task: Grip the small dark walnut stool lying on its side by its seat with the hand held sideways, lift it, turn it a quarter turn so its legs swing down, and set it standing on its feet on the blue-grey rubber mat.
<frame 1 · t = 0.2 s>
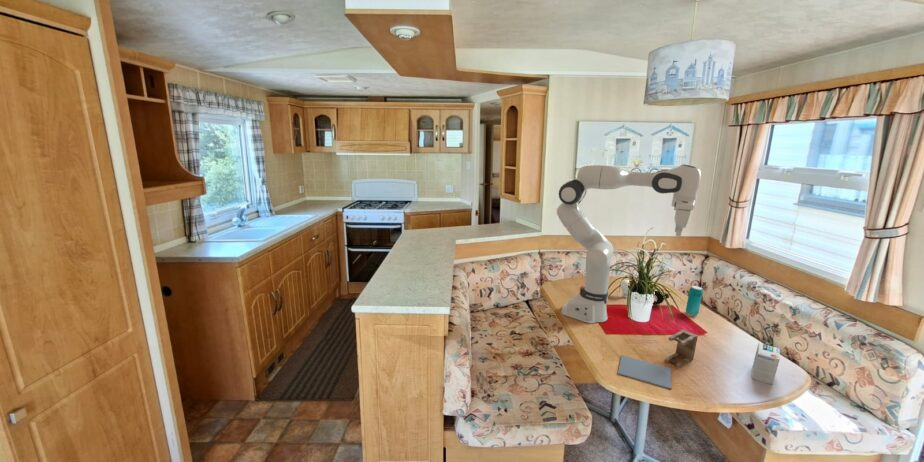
hand: (677, 234, 165), 48 cm above the table, tool pointing down, fingers open, 8 cm apart
mat: (644, 371, 145), on the table
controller: (655, 304, 207), on the table
light bulb box: (762, 375, 145), on the table
beverage can: (691, 314, 196), on the table
lightbulb: (624, 298, 214), on the table
stool: (686, 345, 155), point 5 cm above the table
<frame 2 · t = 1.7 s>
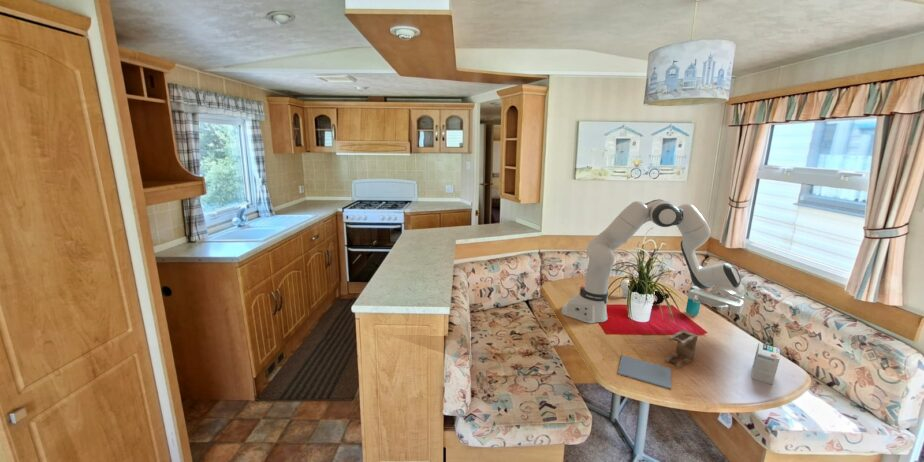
hand: (706, 304, 158), 21 cm above the table, tool horizontal, fingers open, 8 cm apart
nothing on the table moved.
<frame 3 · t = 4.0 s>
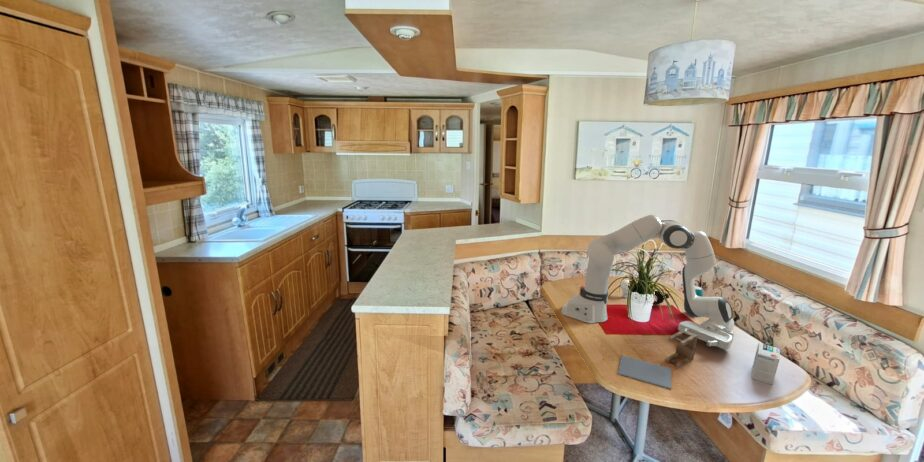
hand: (696, 339, 160), 5 cm above the table, tool horizontal, fingers open, 8 cm apart
nothing on the table moved.
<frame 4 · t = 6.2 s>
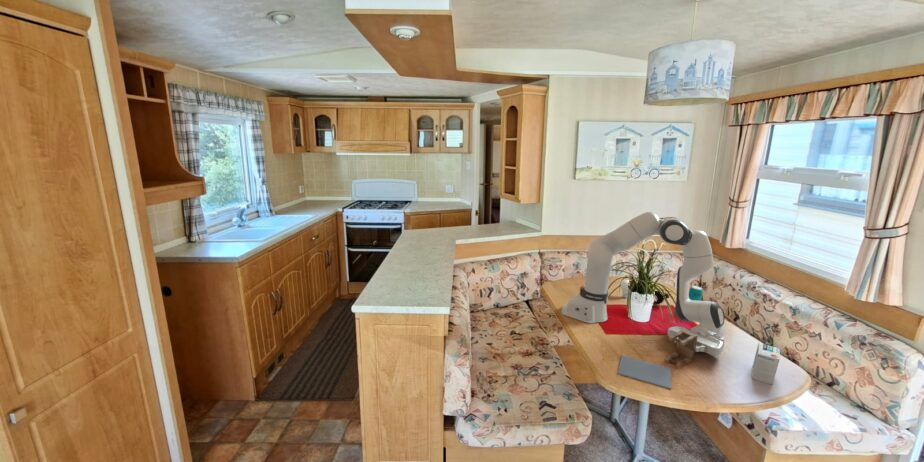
hand: (685, 345, 154), 6 cm above the table, tool horizontal, fingers closed on stool, 6 cm apart
stool: (686, 345, 155), point 6 cm above the table, touching gripper
everything else where it was.
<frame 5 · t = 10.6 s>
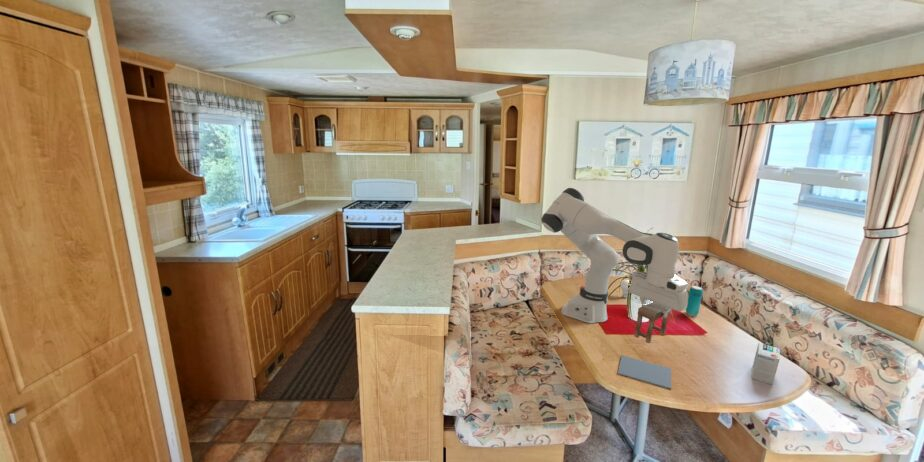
hand: (653, 312, 139), 25 cm above the table, tool pointing down, fingers closed on stool, 6 cm apart
stool: (653, 311, 139), point 26 cm above the table, tilted 90°, touching gripper
everything else where it was.
when the fingers open (12 cm above the table, at t = 13.6 s): stool drops 2 cm, resting on mat.
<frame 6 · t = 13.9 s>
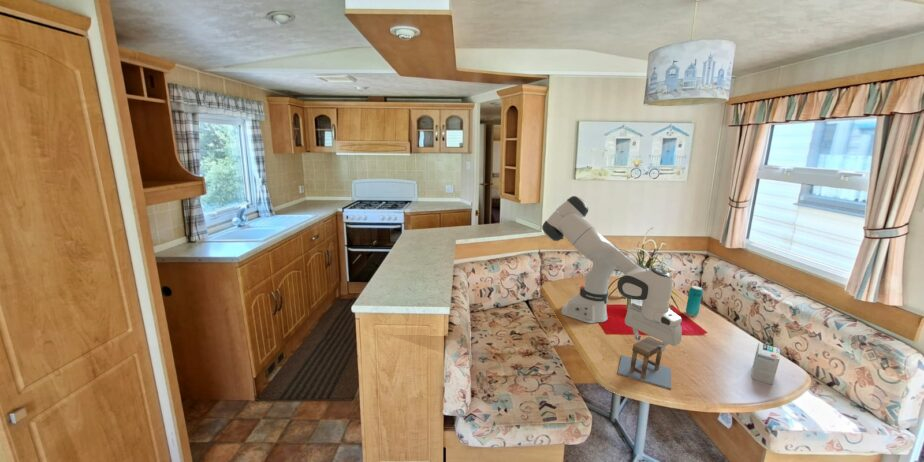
hand: (648, 344, 142), 12 cm above the table, tool pointing down, fingers open, 8 cm apart
stool: (648, 347, 142), point 11 cm above the table, tilted 90°, touching mat
everything else where it was.
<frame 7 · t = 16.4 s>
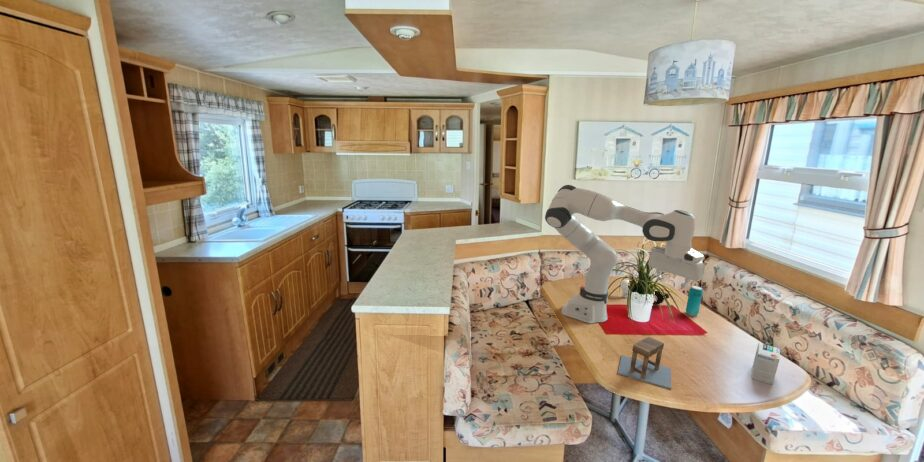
hand: (671, 283, 152), 31 cm above the table, tool pointing down, fingers open, 8 cm apart
nothing on the table moved.
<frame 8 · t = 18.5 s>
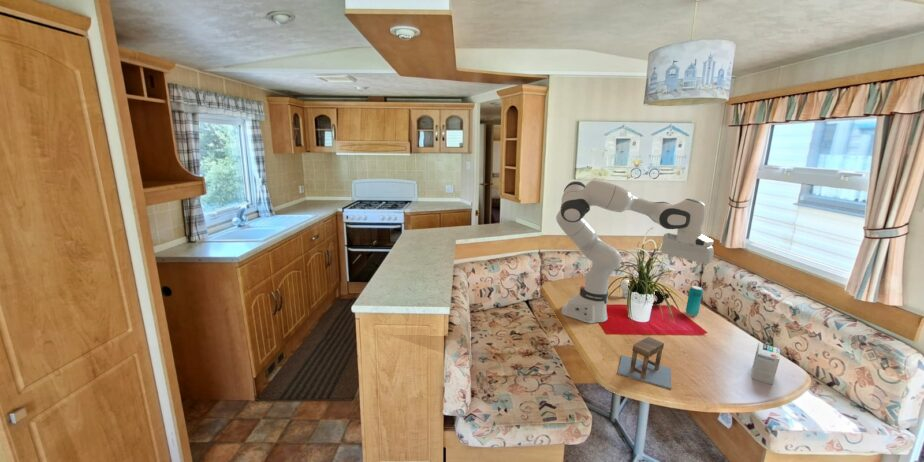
hand: (683, 268, 162), 34 cm above the table, tool pointing down, fingers open, 8 cm apart
nothing on the table moved.
at the end: stool inside the target area on the mat (0.2 cm from its centre), point 10.7 cm above the mat's base; stool touching mat; the gripper is holding nothing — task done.
